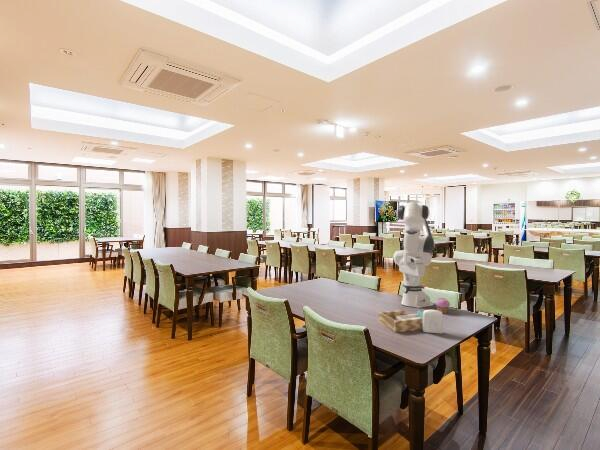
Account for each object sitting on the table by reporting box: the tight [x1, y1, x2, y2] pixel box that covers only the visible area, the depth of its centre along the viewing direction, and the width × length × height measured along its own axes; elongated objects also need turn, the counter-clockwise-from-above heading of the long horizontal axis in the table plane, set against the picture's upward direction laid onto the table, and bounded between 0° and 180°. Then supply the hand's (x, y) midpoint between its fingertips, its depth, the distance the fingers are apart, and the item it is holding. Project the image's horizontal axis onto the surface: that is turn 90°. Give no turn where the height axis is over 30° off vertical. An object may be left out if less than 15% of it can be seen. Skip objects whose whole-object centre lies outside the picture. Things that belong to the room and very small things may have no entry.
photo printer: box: [422, 309, 444, 335], centre depth 173 cm, size 10×4×12 cm, turn 77°
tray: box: [395, 309, 424, 321], centre depth 186 cm, size 17×14×4 cm
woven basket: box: [377, 309, 423, 333], centre depth 184 cm, size 18×18×6 cm
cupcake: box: [434, 297, 451, 314], centre depth 208 cm, size 9×9×10 cm
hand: (411, 281), depth 185 cm, fingers open, 6 cm apart
